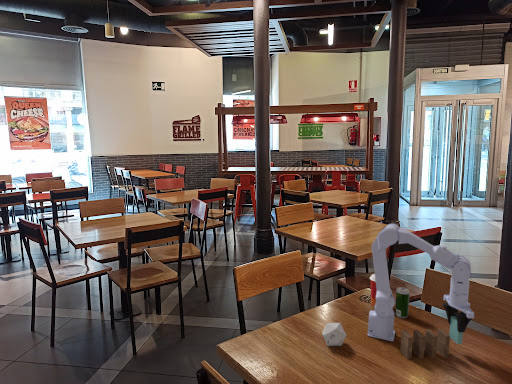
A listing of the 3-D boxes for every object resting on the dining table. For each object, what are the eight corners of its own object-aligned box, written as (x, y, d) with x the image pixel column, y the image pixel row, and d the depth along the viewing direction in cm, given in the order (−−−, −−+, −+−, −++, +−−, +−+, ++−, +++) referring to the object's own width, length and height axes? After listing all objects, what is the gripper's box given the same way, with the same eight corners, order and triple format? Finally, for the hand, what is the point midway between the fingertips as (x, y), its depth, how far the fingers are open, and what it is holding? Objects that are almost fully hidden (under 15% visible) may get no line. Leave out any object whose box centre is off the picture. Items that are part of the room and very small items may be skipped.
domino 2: (419, 358, 127) (420, 337, 126) (412, 350, 132) (413, 329, 131) (423, 358, 127) (425, 337, 126) (416, 350, 132) (417, 329, 131)
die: (317, 342, 138) (320, 331, 131) (328, 324, 143) (331, 313, 136) (336, 355, 135) (340, 345, 128) (346, 336, 140) (351, 326, 133)
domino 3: (431, 357, 127) (433, 336, 126) (424, 349, 132) (425, 329, 131) (436, 357, 127) (437, 336, 126) (428, 349, 132) (429, 329, 131)
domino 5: (457, 344, 127) (459, 322, 126) (449, 336, 132) (450, 316, 131) (461, 344, 127) (463, 322, 126) (453, 336, 132) (454, 315, 131)
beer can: (404, 319, 154) (406, 293, 152) (392, 315, 158) (394, 289, 156) (410, 315, 158) (411, 289, 156) (398, 311, 162) (399, 286, 160)
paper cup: (386, 302, 170) (387, 274, 168) (386, 309, 163) (387, 280, 161) (368, 300, 173) (370, 272, 171) (368, 307, 166) (369, 278, 164)
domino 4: (444, 357, 127) (445, 336, 126) (436, 349, 132) (437, 328, 131) (448, 357, 127) (450, 336, 126) (440, 349, 132) (441, 328, 131)
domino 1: (406, 358, 127) (408, 337, 125) (400, 350, 132) (401, 330, 130) (411, 358, 127) (412, 337, 126) (404, 350, 132) (405, 330, 130)
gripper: (484, 300, 120) (480, 338, 122) (457, 283, 134) (454, 317, 136) (463, 300, 120) (460, 339, 121) (439, 283, 134) (436, 318, 136)
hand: (456, 327), depth 129 cm, fingers closed on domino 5, 5 cm apart
